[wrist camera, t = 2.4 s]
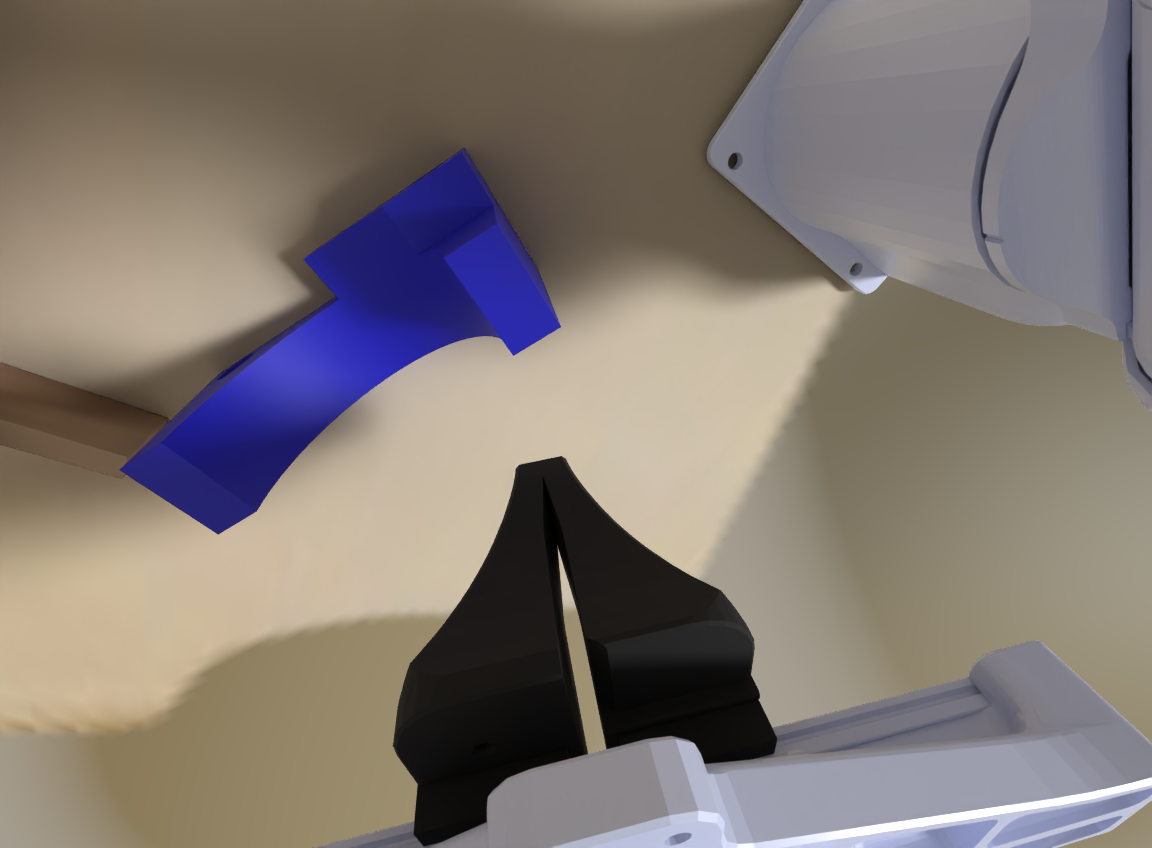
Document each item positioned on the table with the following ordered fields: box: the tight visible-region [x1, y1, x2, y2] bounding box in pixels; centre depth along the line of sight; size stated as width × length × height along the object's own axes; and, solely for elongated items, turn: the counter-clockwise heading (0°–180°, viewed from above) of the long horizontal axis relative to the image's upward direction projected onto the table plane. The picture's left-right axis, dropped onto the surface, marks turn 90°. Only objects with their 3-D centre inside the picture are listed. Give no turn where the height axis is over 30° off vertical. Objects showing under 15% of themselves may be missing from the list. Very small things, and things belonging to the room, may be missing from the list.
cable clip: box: [120, 148, 561, 534], centre depth 15 cm, size 12×4×6 cm, turn 119°
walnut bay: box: [0, 363, 168, 479], centre depth 12 cm, size 7×18×3 cm, turn 147°
